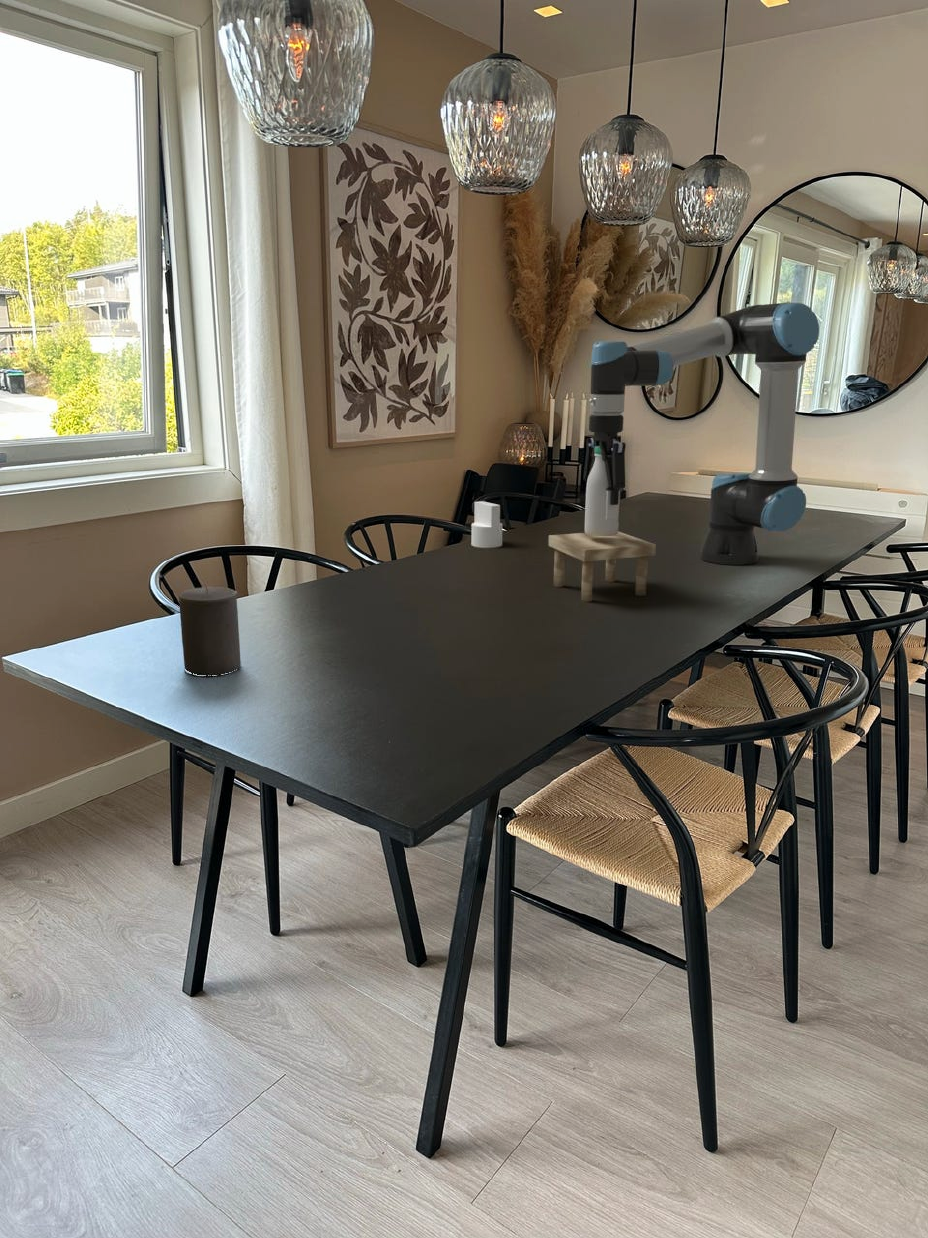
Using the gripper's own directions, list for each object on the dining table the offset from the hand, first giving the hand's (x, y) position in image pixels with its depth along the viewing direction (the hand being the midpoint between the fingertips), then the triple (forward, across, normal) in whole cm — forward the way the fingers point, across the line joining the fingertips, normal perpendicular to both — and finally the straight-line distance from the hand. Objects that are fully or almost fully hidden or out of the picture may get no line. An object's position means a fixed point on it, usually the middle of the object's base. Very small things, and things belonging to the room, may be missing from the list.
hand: (602, 515), depth 204 cm
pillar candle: (+18, +24, -90) cm, 95 cm away
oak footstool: (+18, 0, 0) cm, 18 cm away
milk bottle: (+4, 0, 0) cm, 4 cm away
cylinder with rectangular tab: (+18, -58, -5) cm, 61 cm away
